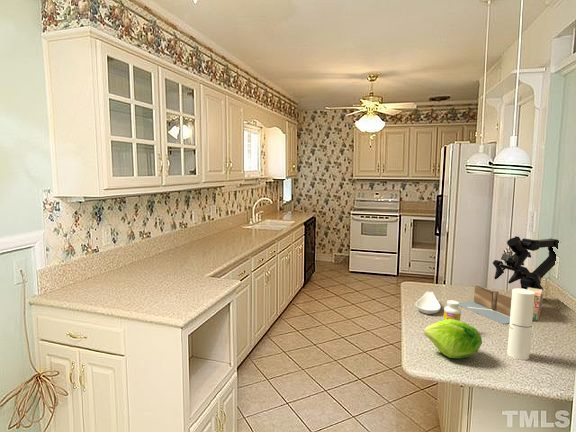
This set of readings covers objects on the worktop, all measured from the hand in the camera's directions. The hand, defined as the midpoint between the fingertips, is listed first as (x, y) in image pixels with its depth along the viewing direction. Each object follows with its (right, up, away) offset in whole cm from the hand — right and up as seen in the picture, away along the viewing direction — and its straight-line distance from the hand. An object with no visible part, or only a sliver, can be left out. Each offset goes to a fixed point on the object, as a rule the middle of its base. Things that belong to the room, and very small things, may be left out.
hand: (501, 280), depth 199 cm
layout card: (-10, -14, -7) cm, 19 cm away
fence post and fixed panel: (-5, -14, -12) cm, 19 cm away
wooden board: (-9, -12, 0) cm, 16 cm away
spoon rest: (-39, -14, -3) cm, 42 cm away
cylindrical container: (-24, -19, -54) cm, 62 cm away
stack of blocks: (+10, -15, -9) cm, 20 cm away
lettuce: (-49, -19, -53) cm, 74 cm away
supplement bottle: (-39, -17, -31) cm, 53 cm away
